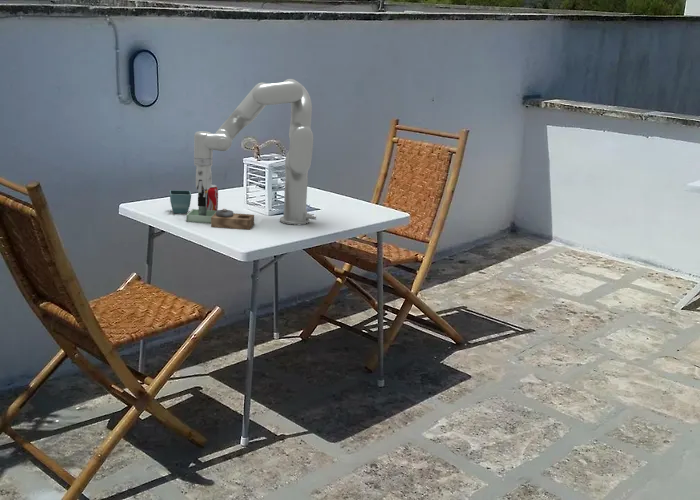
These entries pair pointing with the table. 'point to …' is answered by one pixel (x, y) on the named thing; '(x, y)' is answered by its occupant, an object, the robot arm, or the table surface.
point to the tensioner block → (232, 220)
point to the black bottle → (203, 210)
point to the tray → (199, 216)
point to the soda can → (212, 198)
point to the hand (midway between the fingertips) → (202, 204)
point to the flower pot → (180, 201)
